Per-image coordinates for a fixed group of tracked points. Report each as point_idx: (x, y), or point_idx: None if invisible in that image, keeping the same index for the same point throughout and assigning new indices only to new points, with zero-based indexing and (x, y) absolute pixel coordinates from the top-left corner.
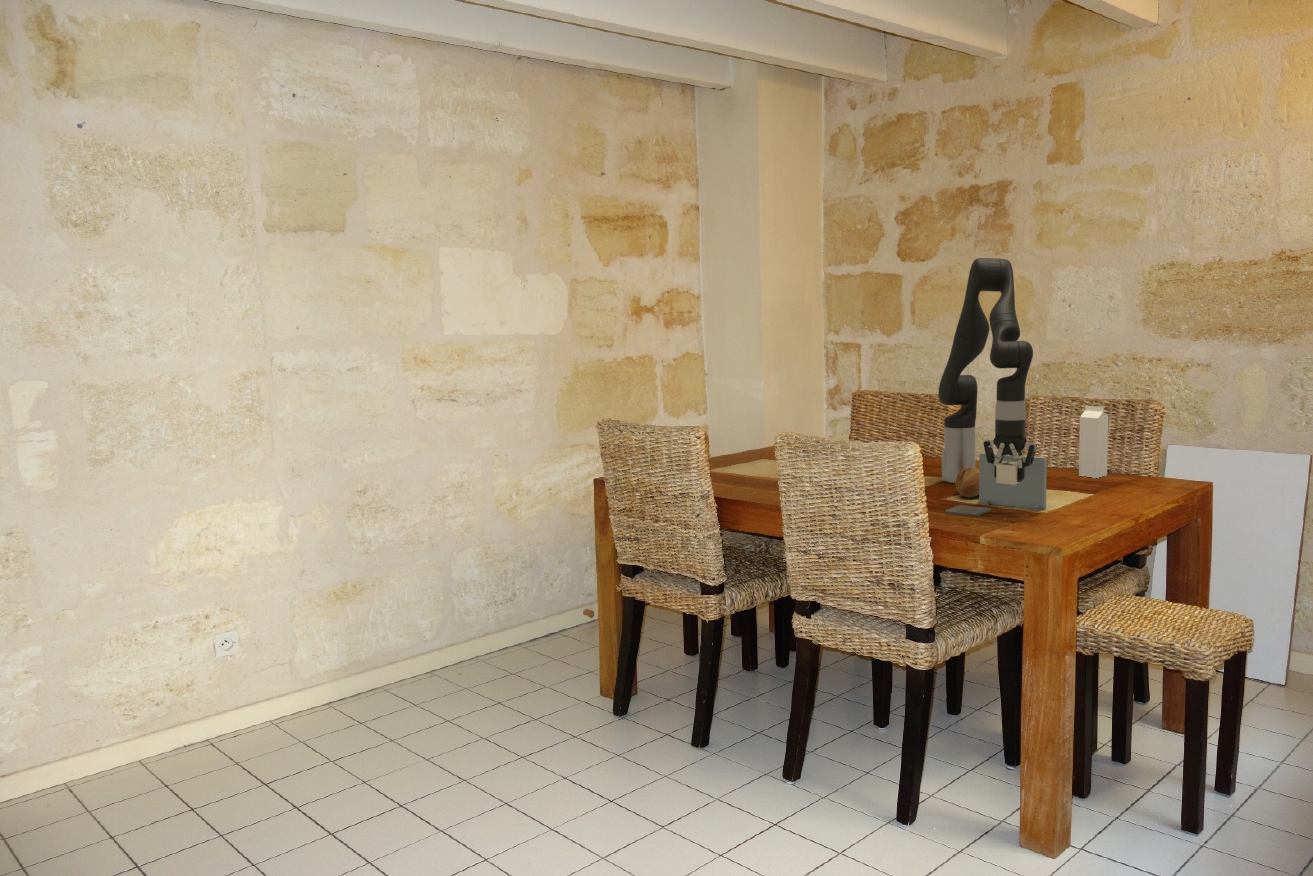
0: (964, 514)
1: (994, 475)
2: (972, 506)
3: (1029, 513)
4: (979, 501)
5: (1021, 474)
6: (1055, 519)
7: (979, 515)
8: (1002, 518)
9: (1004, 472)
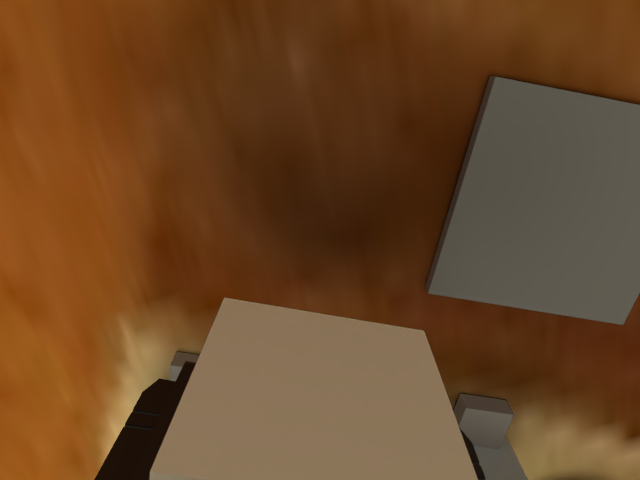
0: (581, 94)
1: (469, 442)
2: (540, 307)
3: (200, 281)
4: (508, 412)
5: (141, 430)
6: (7, 171)
7: (477, 118)
8: (317, 86)
9: (342, 404)
